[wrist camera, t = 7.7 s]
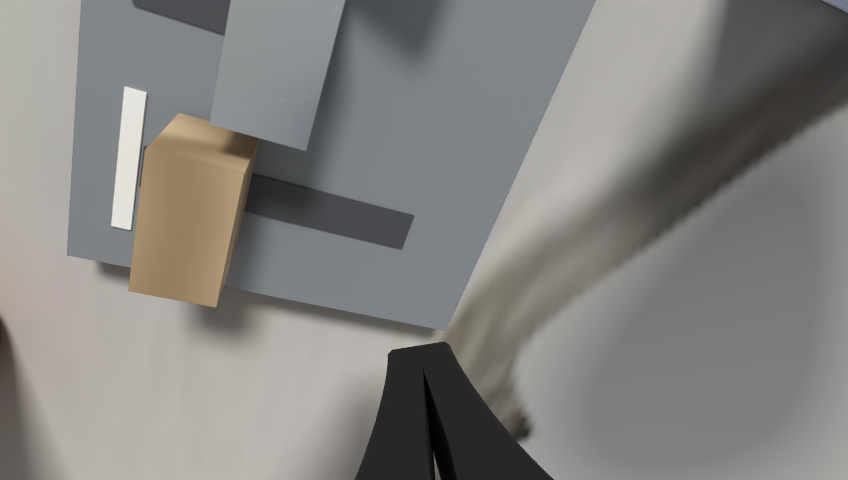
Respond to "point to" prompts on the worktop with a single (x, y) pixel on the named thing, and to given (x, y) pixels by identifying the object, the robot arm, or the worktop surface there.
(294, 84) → the steel slider
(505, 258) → the worktop surface
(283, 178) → the console
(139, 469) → the worktop surface
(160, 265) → the oak slider
